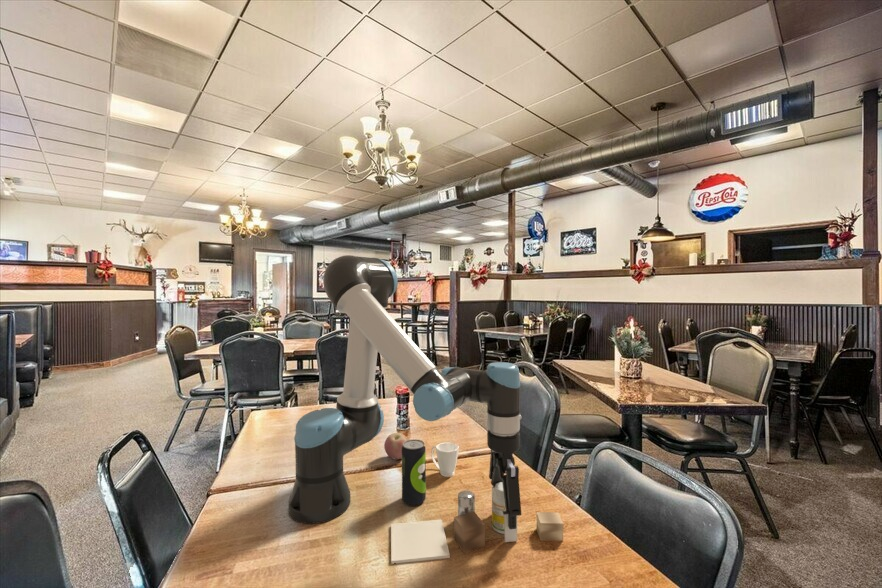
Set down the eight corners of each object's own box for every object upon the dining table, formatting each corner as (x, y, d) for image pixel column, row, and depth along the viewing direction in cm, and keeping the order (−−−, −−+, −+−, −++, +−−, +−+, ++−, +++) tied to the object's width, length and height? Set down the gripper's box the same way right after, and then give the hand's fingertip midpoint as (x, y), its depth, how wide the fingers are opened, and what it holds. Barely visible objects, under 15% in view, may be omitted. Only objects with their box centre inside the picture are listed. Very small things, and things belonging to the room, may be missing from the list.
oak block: (540, 540, 82) (540, 523, 82) (536, 529, 86) (536, 512, 86) (563, 541, 82) (563, 523, 82) (558, 529, 86) (558, 512, 86)
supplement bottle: (494, 535, 84) (494, 493, 84) (489, 520, 89) (489, 481, 89) (518, 533, 85) (518, 492, 84) (511, 519, 90) (511, 479, 90)
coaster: (391, 564, 75) (391, 561, 75) (391, 526, 87) (391, 523, 87) (449, 557, 77) (449, 555, 77) (441, 521, 89) (441, 519, 89)
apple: (380, 462, 120) (380, 437, 120) (390, 452, 127) (390, 428, 127) (403, 465, 117) (403, 440, 117) (412, 455, 125) (412, 431, 125)
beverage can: (399, 496, 100) (399, 441, 100) (421, 492, 102) (421, 437, 102) (405, 509, 94) (405, 450, 94) (428, 504, 96) (428, 446, 96)
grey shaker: (459, 525, 88) (459, 500, 87) (456, 515, 92) (456, 491, 91) (476, 524, 88) (476, 499, 88) (472, 514, 92) (472, 490, 92)
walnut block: (464, 553, 78) (464, 530, 78) (454, 538, 83) (454, 516, 83) (485, 547, 80) (485, 524, 80) (474, 533, 85) (474, 511, 85)
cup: (448, 481, 107) (448, 454, 107) (423, 470, 114) (423, 444, 114) (463, 472, 113) (463, 446, 112) (439, 462, 119) (439, 437, 119)
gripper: (537, 449, 76) (537, 558, 77) (504, 413, 98) (504, 498, 98) (502, 452, 75) (502, 562, 76) (476, 415, 97) (477, 500, 97)
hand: (503, 526), depth 87 cm, fingers open, 9 cm apart
